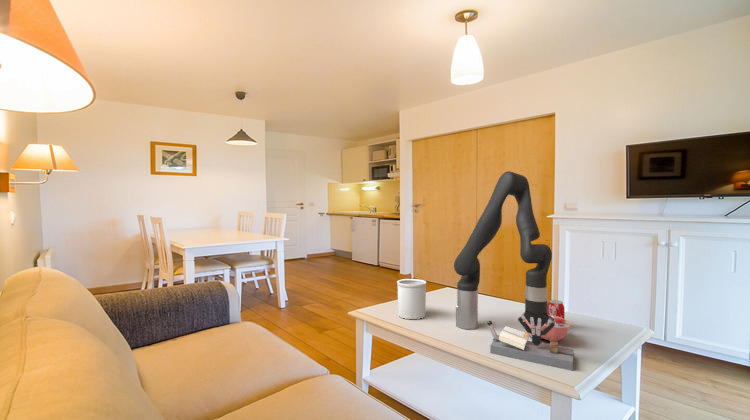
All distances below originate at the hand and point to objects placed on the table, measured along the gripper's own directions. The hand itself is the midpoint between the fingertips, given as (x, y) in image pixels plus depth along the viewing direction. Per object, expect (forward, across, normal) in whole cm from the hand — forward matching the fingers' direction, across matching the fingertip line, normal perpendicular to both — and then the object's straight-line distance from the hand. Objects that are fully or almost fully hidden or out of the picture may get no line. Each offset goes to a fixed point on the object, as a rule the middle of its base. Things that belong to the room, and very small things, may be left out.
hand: (536, 344), depth 127 cm
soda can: (+4, -4, -37) cm, 38 cm away
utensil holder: (+4, +60, -20) cm, 63 cm away
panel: (+4, +2, 0) cm, 5 cm away
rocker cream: (-1, +8, +3) cm, 9 cm away
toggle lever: (+1, +14, 0) cm, 14 cm away
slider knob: (+1, -6, 0) cm, 6 cm away
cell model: (+4, -1, -20) cm, 21 cm away
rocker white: (-1, +8, -3) cm, 8 cm away
